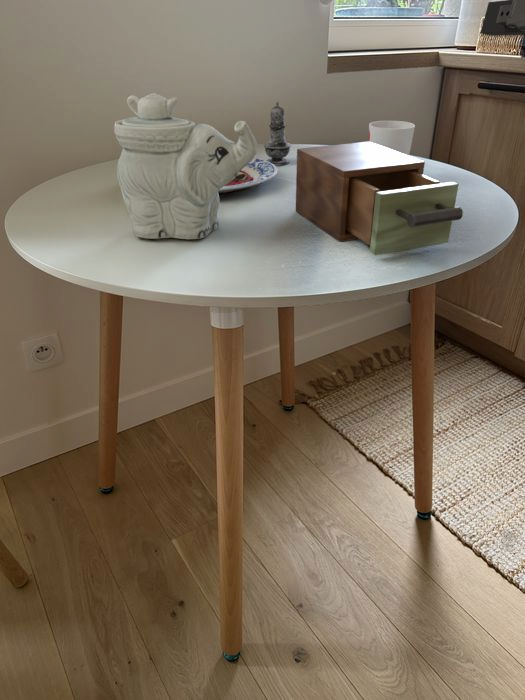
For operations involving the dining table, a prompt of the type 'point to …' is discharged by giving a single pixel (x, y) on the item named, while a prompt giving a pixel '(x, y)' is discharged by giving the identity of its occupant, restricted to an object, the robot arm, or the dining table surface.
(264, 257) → the dining table surface
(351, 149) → the cabinet
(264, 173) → the ceramic plate
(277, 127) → the salt shaker
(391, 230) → the drawer
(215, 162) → the teapot
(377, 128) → the cup
